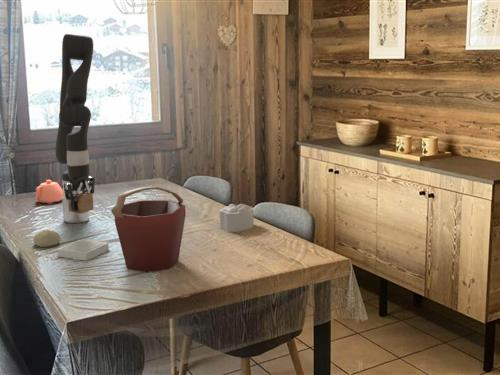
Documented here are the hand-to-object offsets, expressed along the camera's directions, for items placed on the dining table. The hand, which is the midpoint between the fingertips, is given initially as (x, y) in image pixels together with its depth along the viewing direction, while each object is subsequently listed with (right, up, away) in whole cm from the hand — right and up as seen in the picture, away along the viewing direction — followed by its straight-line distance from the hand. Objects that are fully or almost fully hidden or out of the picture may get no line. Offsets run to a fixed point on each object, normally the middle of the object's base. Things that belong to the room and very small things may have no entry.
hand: (81, 208), depth 219 cm
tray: (+4, -15, -10) cm, 19 cm away
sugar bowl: (-33, +1, +64) cm, 71 cm away
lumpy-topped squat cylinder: (+56, -8, +18) cm, 59 cm away
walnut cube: (0, -1, 0) cm, 1 cm away
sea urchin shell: (-12, -13, 0) cm, 18 cm away
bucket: (+28, -17, -21) cm, 39 cm away
